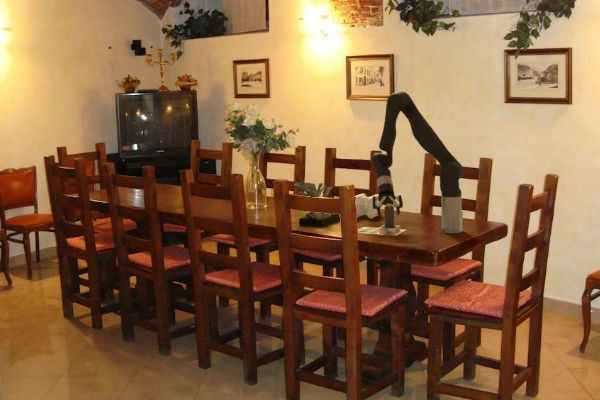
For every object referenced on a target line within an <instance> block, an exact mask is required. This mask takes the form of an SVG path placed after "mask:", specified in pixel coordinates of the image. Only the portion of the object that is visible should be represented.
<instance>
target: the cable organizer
mask: <svg viewBox="0 0 600 400" xmlns="http://www.w3.org/2000/svg"><path fill="white" fill-rule="evenodd" d="M373 196H375V197H379V194H377V193H376V194H374V195H371V196H367V194H366V193H361V194H357V195H355V196H354V197H356V199H355V201H356V208H357V218H356V219H358V218H360V217H362V216H364V215H365V217H366V216H367V218H368V219H370V220H372V219H374V218H376V217H378V216H379V215H378V214H377V209H373V201H372V199H373ZM379 202H380V201H379V200H377V201H376V205H378V204H379ZM380 211H381V212H382V207H381V208H380Z"/></svg>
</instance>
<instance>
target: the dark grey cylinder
mask: <svg viewBox="0 0 600 400" xmlns="http://www.w3.org/2000/svg"><path fill="white" fill-rule="evenodd" d="M383 208H384V225H385V228H394V225H395V207H394V206H392V204H386V206H384V207H383Z"/></svg>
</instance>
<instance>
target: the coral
mask: <svg viewBox="0 0 600 400" xmlns="http://www.w3.org/2000/svg"><path fill="white" fill-rule="evenodd" d="M323 185H324V184H323V183H322V182H321V183H318V185H317V188H316V184H315V183H311V182H305V181H304V180H302V181H300V182H296V183H293V186H294V187H296V188H297V189H299V190H302V191H299V192H298V194H299V195H301V196H303V195H304V196H303V197H305V196H310V197H318V198H319V197H325V198H327V196H329V194H330V192H331V190H333V188H334V184H332V185H331V186H328V187H327V186H326V185H325V186H323ZM321 195H322V196H321ZM298 222H299V223H298V225H300V227H309V228H325V227H327V226H328V227H329V226H330V225H331V226H332V225H333V224H337V223H339V222H341V221H340V217H339V214H324V213H315V212H311V211H309V212H306V213H305V216H303V217H300V218H299V219H298Z"/></svg>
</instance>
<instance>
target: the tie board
mask: <svg viewBox="0 0 600 400" xmlns="http://www.w3.org/2000/svg"><path fill="white" fill-rule="evenodd" d="M357 230H358V233H357V234H364V235H365V234H368V235H383V236H395V237H396V236H398V235H399V236H400V234H401V233H403V232H405V231H407V229H406V228H405V229H403V228H401V226H400V225H397V224H396V225H395V224H394V228H385V224H383V225H381V226H380V227H373V226H371V227H370V226H362V227H360V228H359V229H357Z"/></svg>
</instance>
